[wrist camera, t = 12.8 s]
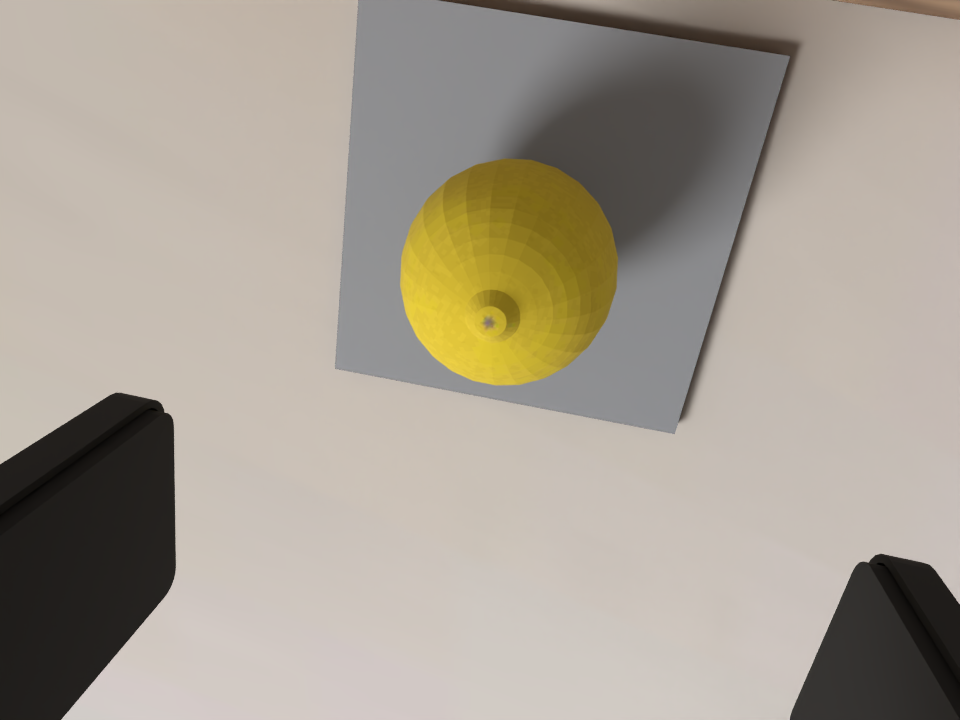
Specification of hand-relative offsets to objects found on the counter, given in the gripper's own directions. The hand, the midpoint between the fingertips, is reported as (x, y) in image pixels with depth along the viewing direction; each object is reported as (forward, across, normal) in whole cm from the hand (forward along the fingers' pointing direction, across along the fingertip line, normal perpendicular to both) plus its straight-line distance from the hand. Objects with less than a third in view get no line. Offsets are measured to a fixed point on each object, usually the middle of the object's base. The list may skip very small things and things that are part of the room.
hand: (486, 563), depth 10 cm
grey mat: (+15, +1, -2) cm, 15 cm away
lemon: (+14, +1, -2) cm, 14 cm away
